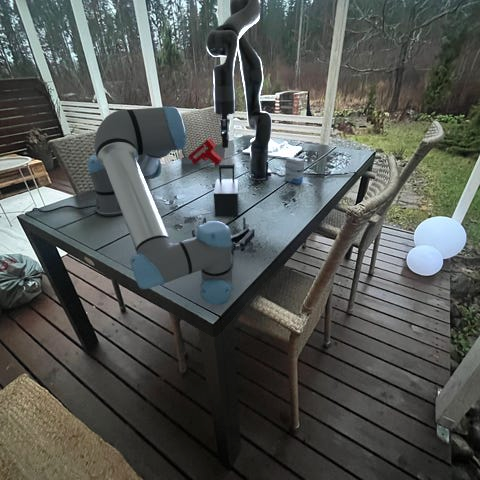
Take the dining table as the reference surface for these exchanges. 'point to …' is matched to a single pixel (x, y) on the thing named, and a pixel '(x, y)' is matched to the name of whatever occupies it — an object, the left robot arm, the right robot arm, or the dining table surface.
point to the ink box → (294, 170)
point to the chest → (226, 205)
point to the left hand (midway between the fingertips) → (224, 221)
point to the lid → (226, 184)
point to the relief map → (280, 150)
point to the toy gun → (205, 153)
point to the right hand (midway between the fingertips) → (225, 144)
